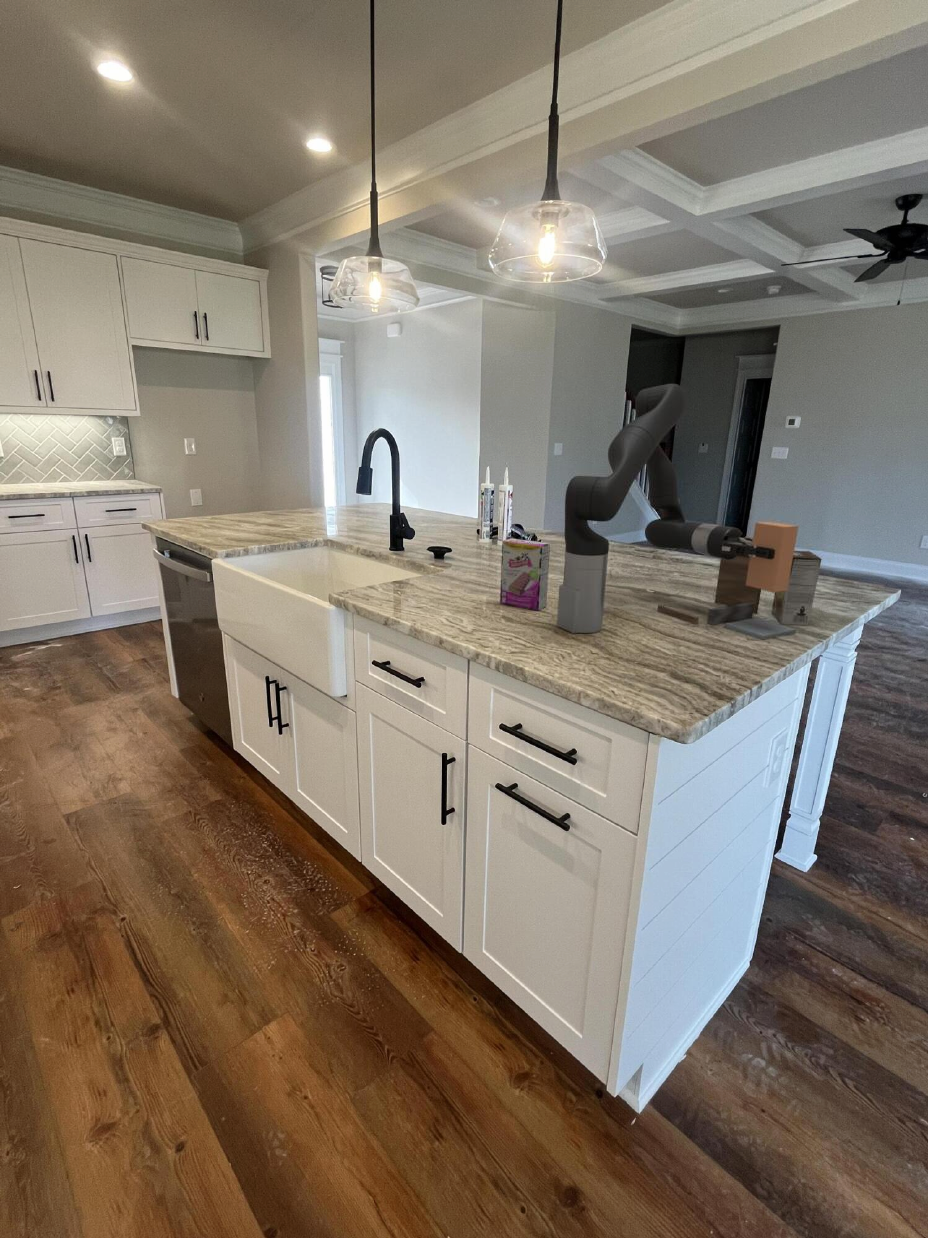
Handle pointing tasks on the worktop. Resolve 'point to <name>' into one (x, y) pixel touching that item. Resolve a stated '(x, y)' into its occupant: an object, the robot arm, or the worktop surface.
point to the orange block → (778, 569)
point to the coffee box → (798, 590)
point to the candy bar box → (524, 573)
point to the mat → (759, 628)
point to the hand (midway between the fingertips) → (781, 553)
